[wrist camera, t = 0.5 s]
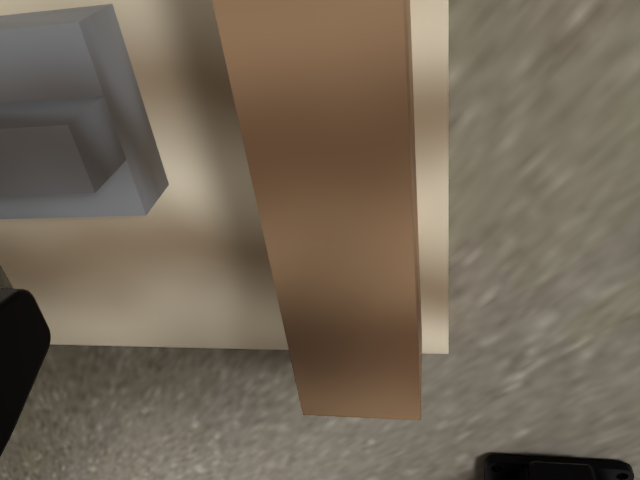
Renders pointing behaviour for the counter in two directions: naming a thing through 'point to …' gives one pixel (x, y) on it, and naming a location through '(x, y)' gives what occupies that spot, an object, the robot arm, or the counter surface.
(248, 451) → the counter surface
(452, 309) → the counter surface
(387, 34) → the walnut bar
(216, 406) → the counter surface
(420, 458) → the counter surface
